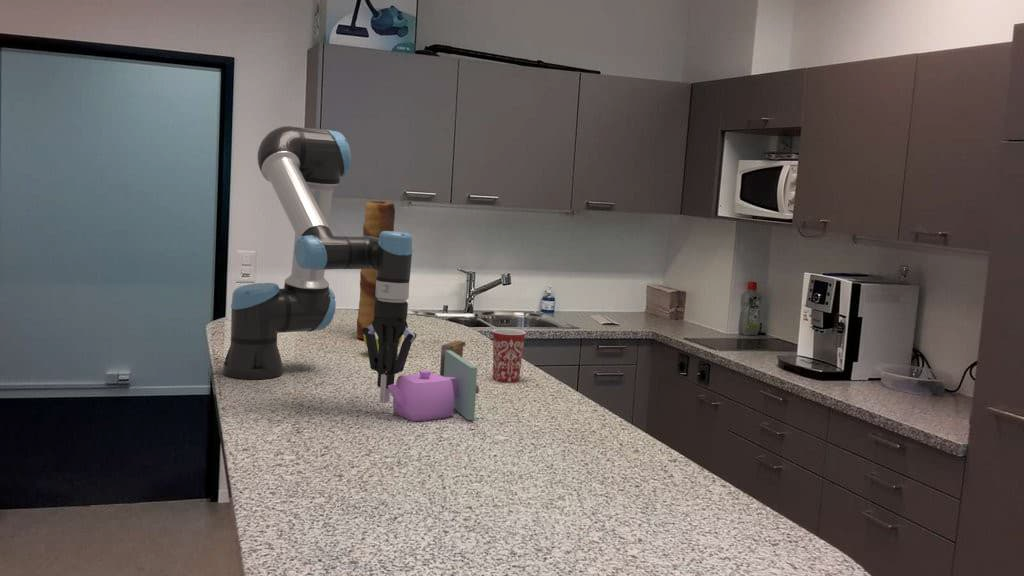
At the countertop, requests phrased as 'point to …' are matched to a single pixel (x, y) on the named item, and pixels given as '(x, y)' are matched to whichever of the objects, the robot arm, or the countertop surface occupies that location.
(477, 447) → the countertop surface
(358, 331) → the wafer roll
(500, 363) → the mug
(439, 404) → the teapot
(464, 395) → the door
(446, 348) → the doorframe
